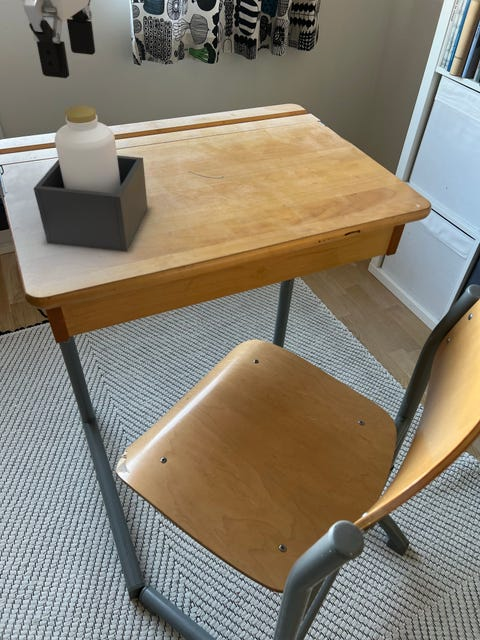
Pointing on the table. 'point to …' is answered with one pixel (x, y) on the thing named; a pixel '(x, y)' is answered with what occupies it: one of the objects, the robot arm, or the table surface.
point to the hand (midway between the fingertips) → (70, 64)
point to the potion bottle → (87, 152)
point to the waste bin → (93, 209)
